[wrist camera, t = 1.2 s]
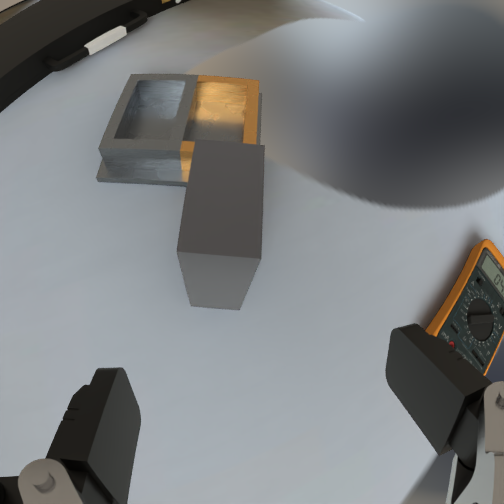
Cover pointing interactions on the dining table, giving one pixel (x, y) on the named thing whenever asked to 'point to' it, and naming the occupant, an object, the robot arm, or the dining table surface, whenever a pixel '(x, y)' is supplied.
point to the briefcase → (63, 37)
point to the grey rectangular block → (222, 223)
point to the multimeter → (475, 308)
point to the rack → (175, 125)
